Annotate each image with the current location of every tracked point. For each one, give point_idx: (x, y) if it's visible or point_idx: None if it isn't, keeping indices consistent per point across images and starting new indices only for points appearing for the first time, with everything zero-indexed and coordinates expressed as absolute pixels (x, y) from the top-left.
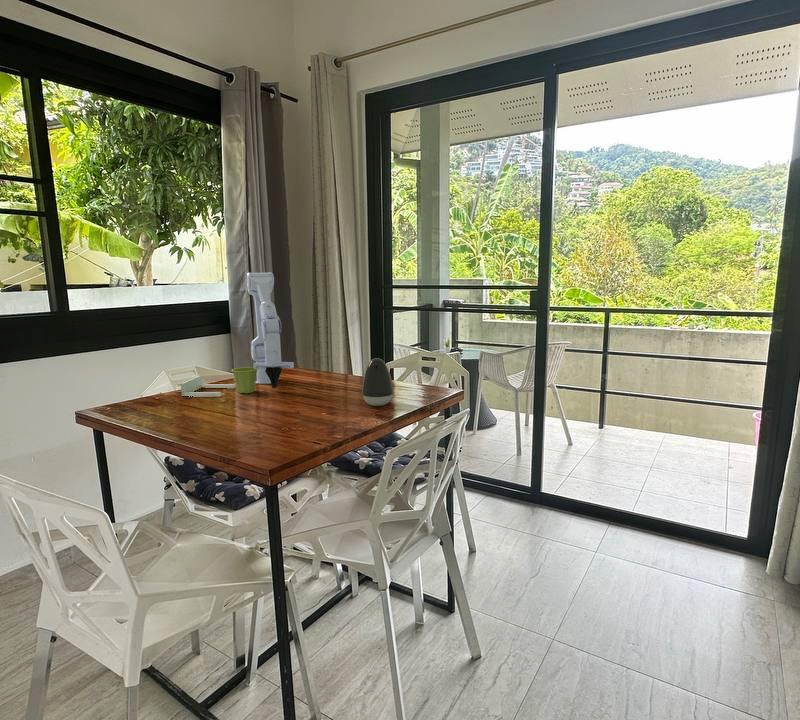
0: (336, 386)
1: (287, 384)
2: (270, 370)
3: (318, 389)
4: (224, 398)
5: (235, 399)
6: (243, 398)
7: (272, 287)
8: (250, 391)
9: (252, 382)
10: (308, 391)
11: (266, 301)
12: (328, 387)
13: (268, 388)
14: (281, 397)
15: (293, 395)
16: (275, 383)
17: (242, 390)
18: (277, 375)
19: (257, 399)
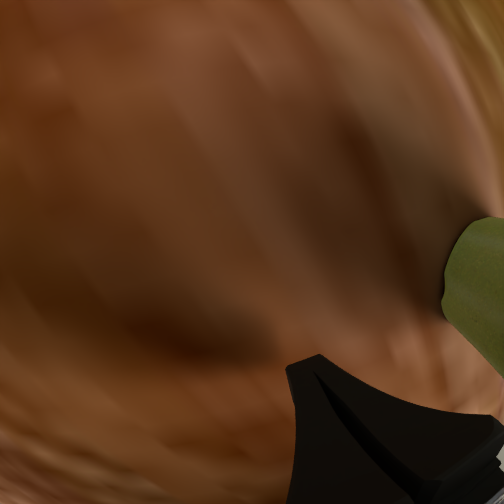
0: (21, 492)
1: None
2: (442, 481)
3: (30, 452)
4: (499, 79)
5: (444, 40)
6: (420, 63)
7: None
8: (458, 250)
9: (500, 291)
10: (33, 408)
11: None
12: (31, 482)
13: None
14: (82, 147)
15: (26, 264)
16: (299, 389)
17: (497, 219)
18: (292, 475)
19: (291, 22)
